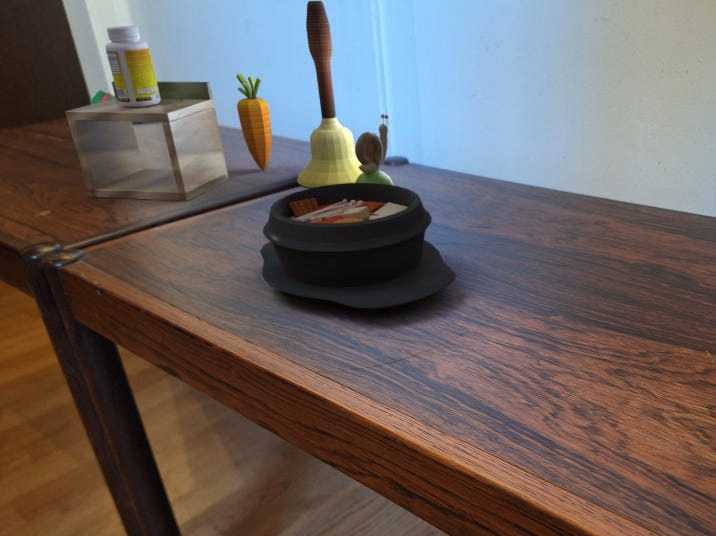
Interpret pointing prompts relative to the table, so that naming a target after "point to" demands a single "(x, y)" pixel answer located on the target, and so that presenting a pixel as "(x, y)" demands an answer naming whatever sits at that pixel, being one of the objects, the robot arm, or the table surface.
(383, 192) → the casserole
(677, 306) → the table surface
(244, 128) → the carrot
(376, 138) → the snail figurine
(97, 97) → the building blocks
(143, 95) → the supplement bottle
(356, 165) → the handbell
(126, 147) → the shelf
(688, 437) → the table surface
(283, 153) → the table surface
